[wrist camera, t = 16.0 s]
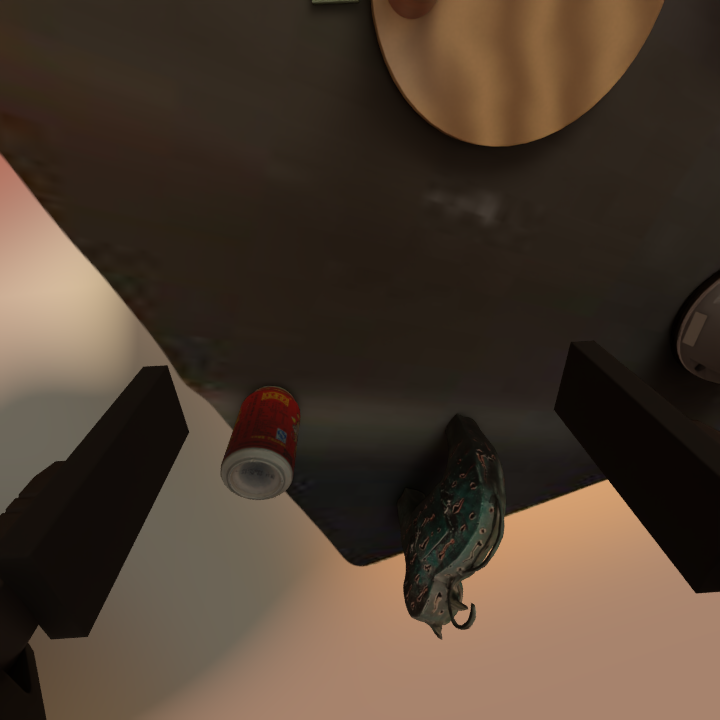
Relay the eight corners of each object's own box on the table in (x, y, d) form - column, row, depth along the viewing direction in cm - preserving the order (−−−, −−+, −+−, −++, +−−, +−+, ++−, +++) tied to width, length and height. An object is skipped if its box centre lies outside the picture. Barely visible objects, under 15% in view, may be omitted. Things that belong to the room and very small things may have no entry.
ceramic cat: (417, 515, 61) (450, 669, 43) (379, 505, 59) (397, 660, 42) (487, 418, 52) (563, 562, 35) (444, 404, 50) (501, 547, 33)
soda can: (298, 430, 51) (288, 508, 41) (242, 424, 50) (217, 502, 40) (305, 384, 48) (295, 457, 37) (244, 377, 47) (217, 449, 36)
